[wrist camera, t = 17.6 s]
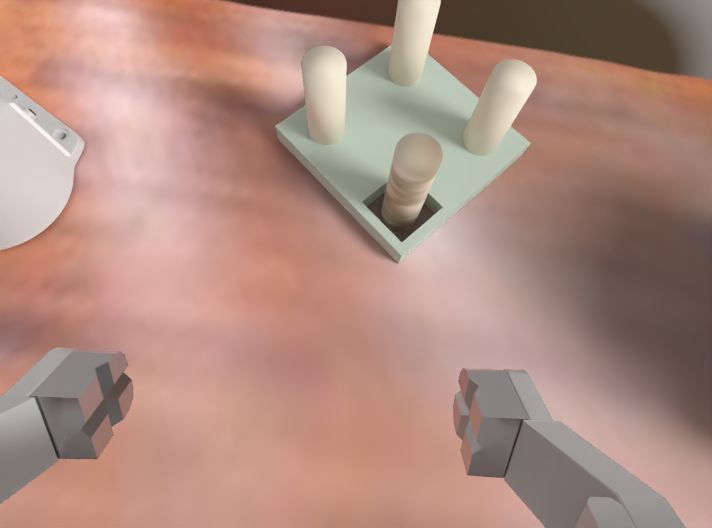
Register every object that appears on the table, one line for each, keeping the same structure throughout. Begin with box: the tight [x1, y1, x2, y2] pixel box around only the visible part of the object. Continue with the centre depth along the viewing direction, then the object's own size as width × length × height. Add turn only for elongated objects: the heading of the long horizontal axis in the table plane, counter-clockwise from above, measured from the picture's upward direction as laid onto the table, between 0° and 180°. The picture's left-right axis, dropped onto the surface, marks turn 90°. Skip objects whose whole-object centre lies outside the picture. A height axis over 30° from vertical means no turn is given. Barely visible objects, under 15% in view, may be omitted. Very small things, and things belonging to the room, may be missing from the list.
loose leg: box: [381, 132, 443, 232], centre depth 40 cm, size 4×4×12 cm
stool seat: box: [275, 0, 537, 263], centre depth 43 cm, size 20×20×12 cm
